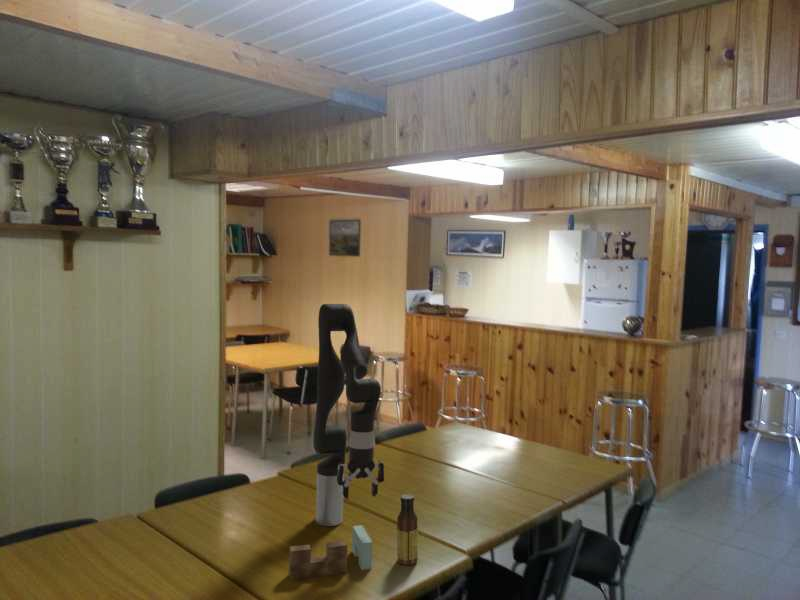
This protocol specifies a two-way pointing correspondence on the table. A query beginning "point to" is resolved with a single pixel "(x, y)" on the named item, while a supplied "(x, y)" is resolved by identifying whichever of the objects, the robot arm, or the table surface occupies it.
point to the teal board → (362, 547)
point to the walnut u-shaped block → (318, 561)
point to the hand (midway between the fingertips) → (360, 496)
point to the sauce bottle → (407, 532)
